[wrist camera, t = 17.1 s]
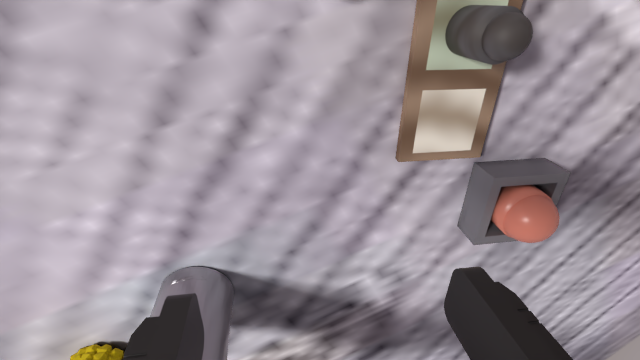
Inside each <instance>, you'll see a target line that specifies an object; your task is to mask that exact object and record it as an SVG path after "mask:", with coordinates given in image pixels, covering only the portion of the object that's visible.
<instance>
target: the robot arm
mask: <svg viewBox="0 0 640 360" xmlns="http://www.w3.org/2000/svg"><path fill="white" fill-rule="evenodd" d="M233 295H234V290H233V286H232V283H231V282H230V280H229V279H228V278H227V277H226V276H225V275H223V274H222V273H220V272H218V271H216V270H213V269H210V268H205V267H188V268H183V269H180V270H177V271H175V272H173V273H172V274H170V275H169V276H168V277H167V278H166V279H165V280H164V281H163V283H162V285H161V288H160V291H159V293H158V296H157V299H156V302H155V305H154V307H153V310H152V312H151V315H150V317H148V318H146V319H145V320H144V321H143V322H142V323H141V325H140V326H139V327H138V328H137V329H136V330H135V332H134V333H133V334H132V335H131V338H130V340H129V343H128V345H127V348H126V350H125V352H124V355H123V356H124V357H123V359H122V360H227V353H228V343H229V334H230V324H231V315H232V305H233ZM444 309H445V314H446V317H447V320H448V322H449V324H450V325H451V327H452V329H453V330H454V332H455V334H456V336H457V337H458V339H459V341H460V342H461V344H462V346H463V348H464V349H465V351H466V353H467V354H468V356H469V358H470V360H573V359H572V358H571V357H570V356H569V355H568V353H567V352H566V351H565V350H564V349H563V348H562V347H561V345H560V344H559V343H558V342H557V341H556V340H555V339H554V337H553V336H552V335H551V334H550V333H549V332H548V331H547V329H546V328H545V327H544V326H543V325H542V324H540V323H539V320H538V319H537V318H536V317H535V316H534V314H533V313H532V312H531V311H528V308H527V306H526V305H525V304H524V303H523V302H522V301H521V300H520V298H519V297H518V296H517V295H516V294H515V293H514V292H512V291H511V290H509V289H508V288H507V287H505V286H504V285H502V284H501V283H500V282H494V281H493V280H492V279H491V278H490V276H489V275H488V274H487V273H486V272H485V271H484V269H482V268H481V267H469V268H459V269H455V270H454V271H453V273H452V277H451V280H450V284H449V287H448V291H447V294H446V298H445V302H444Z"/></svg>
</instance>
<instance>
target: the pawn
mask: <svg viewBox="0 0 640 360" xmlns="http://www.w3.org/2000/svg"><path fill="white" fill-rule="evenodd" d="M532 34H533V29H532V25H531V22H530V21H529V19H528V18H527V17H526V16H524V14H523V13H522V11H521V10H519V9H518V8H516V7H513V6H496V5H468V6H465V7H463V8H461V9H459V10H458V11H457V12H456V13H455V14H454V15H453V16H452V18H451V19H450V21H449V23H448V25H447V28H446V33H445V39H446V44H447V47H448V48H449V50H450V51H451V52H452V53H454V54H456V55H459V56H462V57H466V58H469V59H473V60H476V61H480V62H483V63H487V64H492V65H495V64H500V63H503V62H505V61H507V60H511V59H513V58H515V57H517V56H519V55H520V54H521V53H523V52H524V51H525V50H526V48H527V47H528V45H529V44H530V42H531V39H532Z"/></svg>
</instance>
